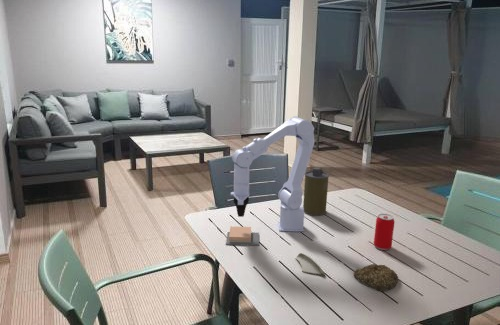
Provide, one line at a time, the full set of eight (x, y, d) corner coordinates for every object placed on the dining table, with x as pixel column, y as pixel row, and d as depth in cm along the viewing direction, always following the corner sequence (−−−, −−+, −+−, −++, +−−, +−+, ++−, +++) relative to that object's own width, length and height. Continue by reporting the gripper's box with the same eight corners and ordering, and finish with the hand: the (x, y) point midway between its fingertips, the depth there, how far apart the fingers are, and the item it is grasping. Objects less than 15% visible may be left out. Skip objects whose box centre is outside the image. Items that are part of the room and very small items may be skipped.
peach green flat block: (251, 226, 154) (250, 237, 146) (251, 231, 155) (250, 242, 146) (230, 226, 154) (229, 236, 146) (230, 231, 155) (229, 241, 146)
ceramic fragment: (326, 277, 126) (327, 266, 125) (313, 281, 123) (314, 270, 122) (299, 258, 137) (300, 248, 137) (287, 262, 135) (287, 251, 134)
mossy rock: (380, 295, 117) (382, 280, 115) (347, 276, 126) (349, 262, 125) (406, 282, 124) (408, 267, 123) (373, 265, 134) (375, 251, 132)
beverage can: (392, 245, 147) (396, 215, 144) (390, 252, 142) (394, 221, 139) (374, 241, 150) (378, 211, 147) (372, 248, 144) (375, 217, 141)
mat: (258, 233, 154) (258, 232, 154) (259, 245, 145) (259, 244, 145) (227, 232, 154) (227, 231, 154) (225, 244, 145) (225, 243, 145)
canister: (322, 217, 171) (325, 172, 166) (299, 213, 175) (301, 169, 170) (329, 209, 180) (332, 166, 175) (306, 205, 185) (309, 163, 179)
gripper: (231, 175, 155) (231, 208, 159) (229, 187, 141) (229, 223, 145) (249, 176, 155) (249, 208, 159) (249, 188, 141) (248, 223, 145)
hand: (240, 215), depth 152 cm, fingers closed
